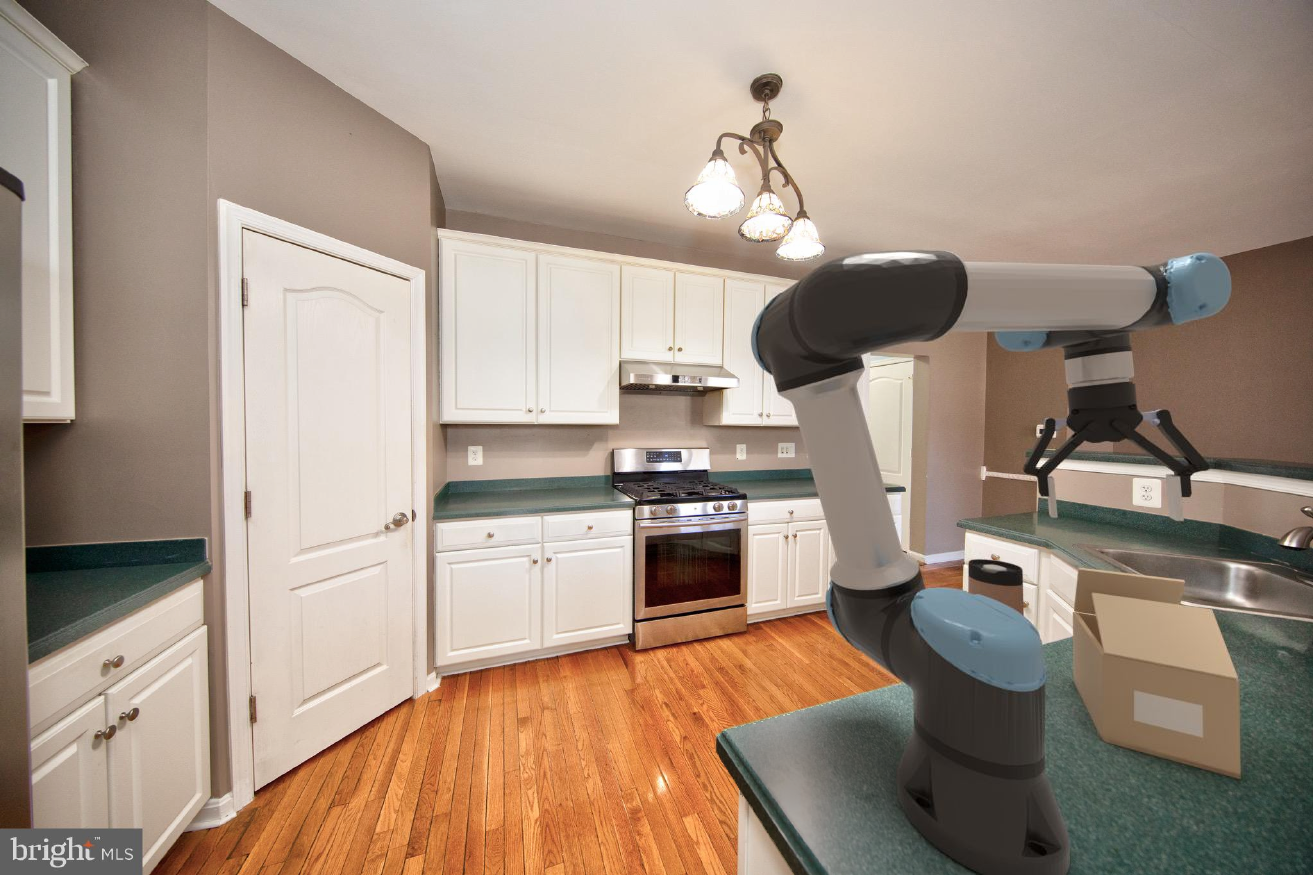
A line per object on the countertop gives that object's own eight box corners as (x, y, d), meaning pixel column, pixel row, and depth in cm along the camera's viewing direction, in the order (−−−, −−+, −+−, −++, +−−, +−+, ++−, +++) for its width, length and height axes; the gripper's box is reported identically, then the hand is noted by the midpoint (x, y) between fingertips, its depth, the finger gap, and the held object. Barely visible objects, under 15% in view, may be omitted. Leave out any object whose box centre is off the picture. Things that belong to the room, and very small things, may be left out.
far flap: (1074, 611, 75) (1073, 609, 75) (1175, 627, 68) (1174, 625, 69) (1079, 569, 72) (1078, 567, 72) (1185, 582, 65) (1183, 579, 65)
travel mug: (1004, 669, 79) (1003, 559, 79) (1036, 694, 71) (1035, 572, 71) (959, 667, 79) (958, 558, 80) (986, 691, 72) (985, 570, 72)
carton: (1241, 779, 53) (1239, 681, 53) (1103, 741, 60) (1102, 654, 60) (1178, 705, 68) (1177, 628, 68) (1073, 681, 75) (1072, 611, 75)
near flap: (1236, 679, 53) (1238, 678, 53) (1103, 653, 60) (1104, 652, 60) (1210, 611, 59) (1212, 609, 58) (1091, 594, 65) (1091, 592, 65)
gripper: (1212, 371, 64) (1224, 514, 64) (997, 394, 79) (1008, 510, 79) (1237, 368, 58) (1251, 526, 58) (999, 393, 73) (1011, 519, 73)
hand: (1111, 517), depth 68 cm, fingers open, 13 cm apart
